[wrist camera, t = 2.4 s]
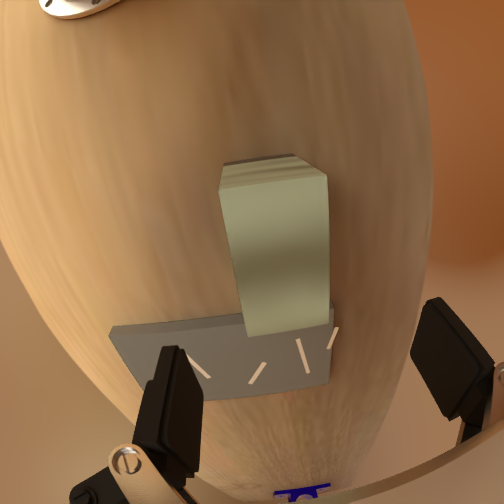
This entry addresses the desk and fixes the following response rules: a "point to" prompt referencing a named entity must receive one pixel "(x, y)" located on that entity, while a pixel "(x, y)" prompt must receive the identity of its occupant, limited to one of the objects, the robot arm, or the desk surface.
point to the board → (232, 354)
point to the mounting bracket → (301, 492)
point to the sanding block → (278, 241)
